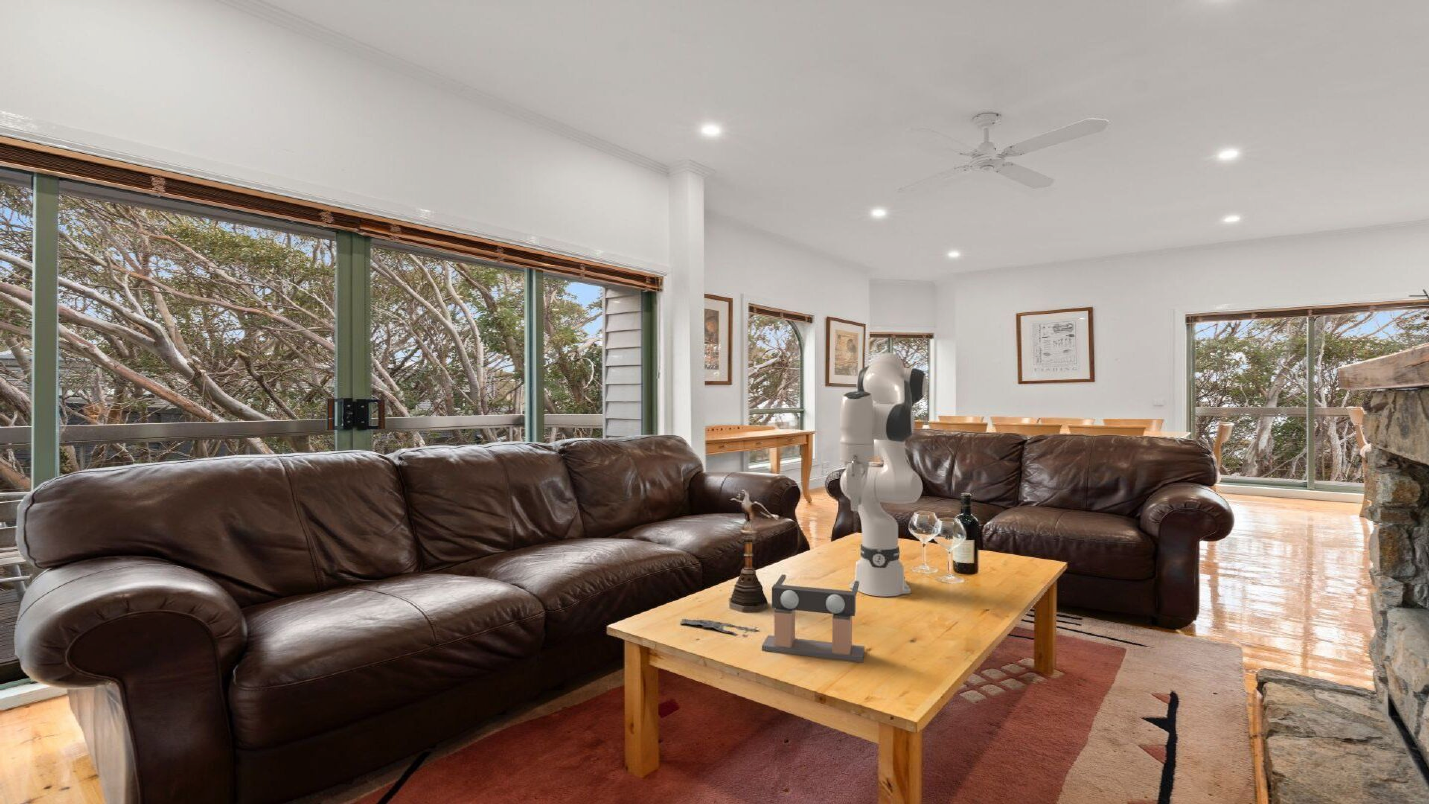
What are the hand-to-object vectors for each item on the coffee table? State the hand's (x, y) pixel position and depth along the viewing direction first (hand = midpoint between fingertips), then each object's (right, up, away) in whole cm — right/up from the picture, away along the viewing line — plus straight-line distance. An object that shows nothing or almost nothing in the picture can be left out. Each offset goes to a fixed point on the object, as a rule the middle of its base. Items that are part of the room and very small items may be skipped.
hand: (856, 507), depth 170 cm
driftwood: (-36, -34, +5) cm, 50 cm away
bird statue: (-26, -33, +25) cm, 49 cm away
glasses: (-11, -23, -6) cm, 26 cm away
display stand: (-13, -33, -10) cm, 37 cm away
